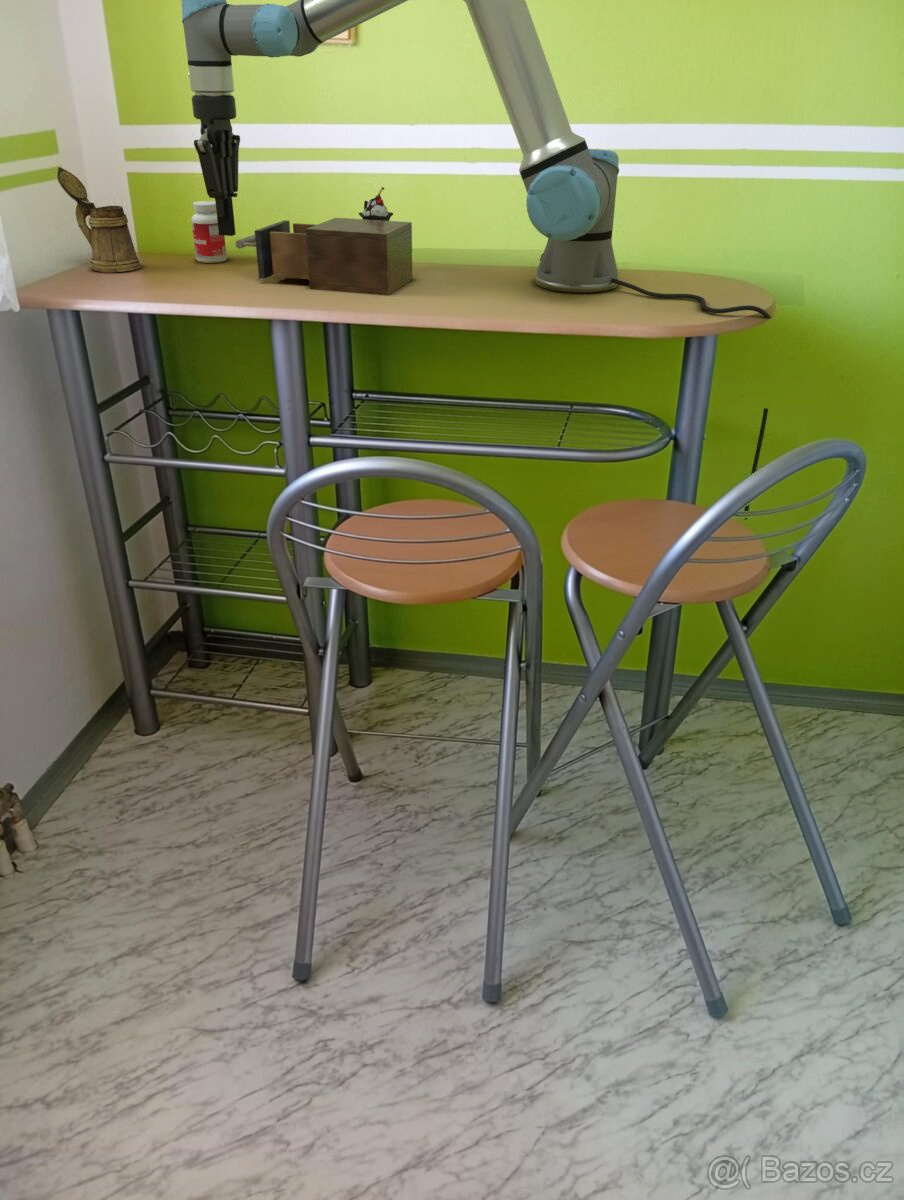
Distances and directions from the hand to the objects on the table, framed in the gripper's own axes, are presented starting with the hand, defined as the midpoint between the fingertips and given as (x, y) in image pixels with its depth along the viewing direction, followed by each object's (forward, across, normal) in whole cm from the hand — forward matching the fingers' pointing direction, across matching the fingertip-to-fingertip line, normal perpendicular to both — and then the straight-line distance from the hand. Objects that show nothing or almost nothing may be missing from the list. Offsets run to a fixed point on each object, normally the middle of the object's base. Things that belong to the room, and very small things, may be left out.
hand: (227, 234), depth 179 cm
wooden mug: (+8, +3, -26) cm, 27 cm away
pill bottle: (+7, -10, -10) cm, 16 cm away
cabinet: (+7, 0, +27) cm, 28 cm away
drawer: (+6, 0, +13) cm, 15 cm away
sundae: (+7, -15, +24) cm, 30 cm away
